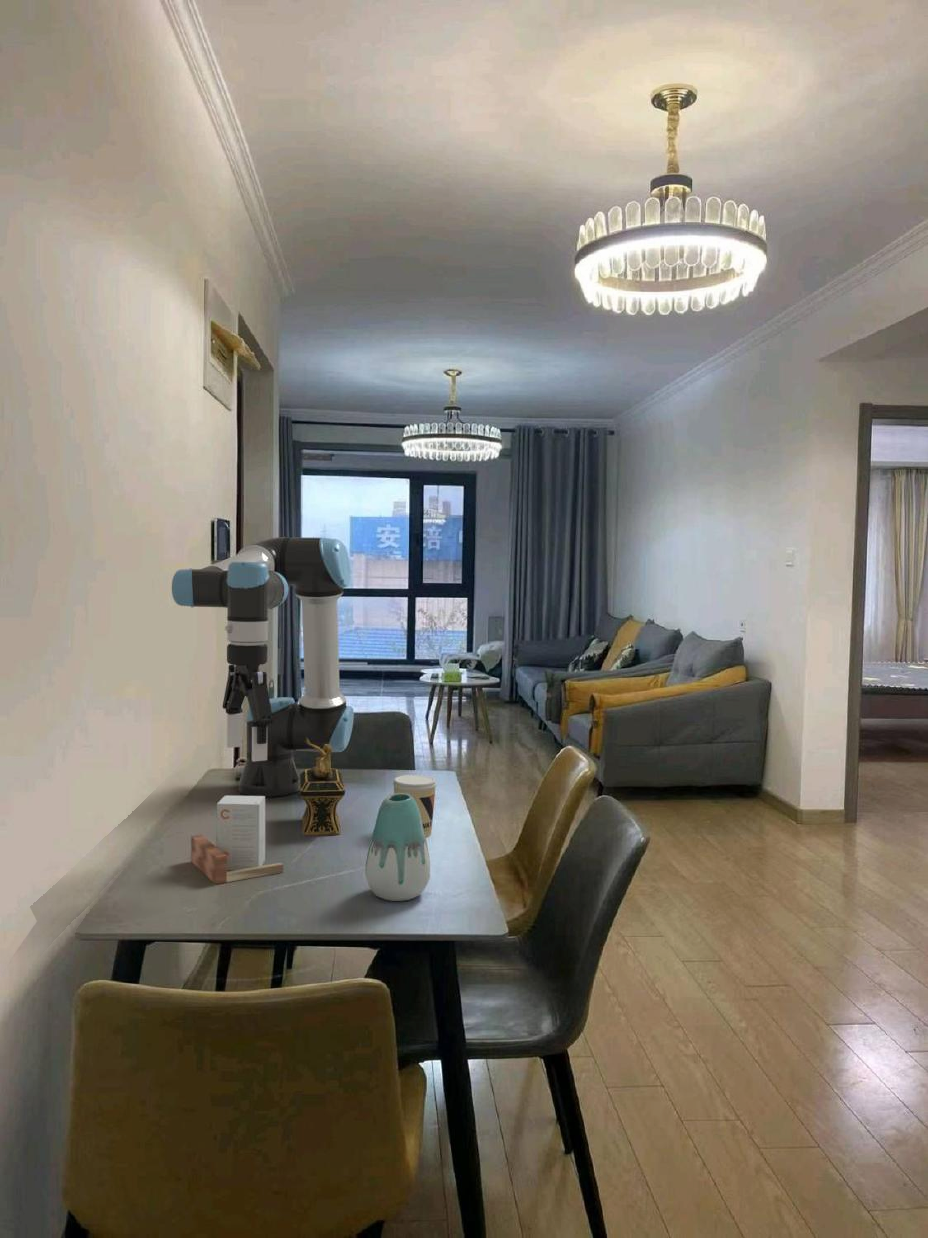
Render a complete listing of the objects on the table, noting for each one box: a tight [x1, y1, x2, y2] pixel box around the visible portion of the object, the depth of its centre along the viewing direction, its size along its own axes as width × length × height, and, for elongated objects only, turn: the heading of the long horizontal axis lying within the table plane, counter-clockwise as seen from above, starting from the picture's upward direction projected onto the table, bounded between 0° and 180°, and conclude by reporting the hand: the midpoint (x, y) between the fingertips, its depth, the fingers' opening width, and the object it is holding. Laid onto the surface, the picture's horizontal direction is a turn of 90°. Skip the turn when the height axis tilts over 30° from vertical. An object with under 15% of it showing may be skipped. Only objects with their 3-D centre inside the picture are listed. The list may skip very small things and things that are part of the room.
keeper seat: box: [190, 834, 284, 885], centre depth 178 cm, size 14×13×5 cm
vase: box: [364, 793, 431, 902], centre depth 165 cm, size 12×12×18 cm
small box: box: [216, 795, 266, 871], centre depth 178 cm, size 8×6×13 cm
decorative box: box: [299, 738, 346, 837], centre depth 203 cm, size 20×10×20 cm, turn 10°
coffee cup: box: [392, 774, 437, 839], centre depth 202 cm, size 9×9×12 cm
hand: (246, 753), depth 178 cm, fingers open, 13 cm apart
